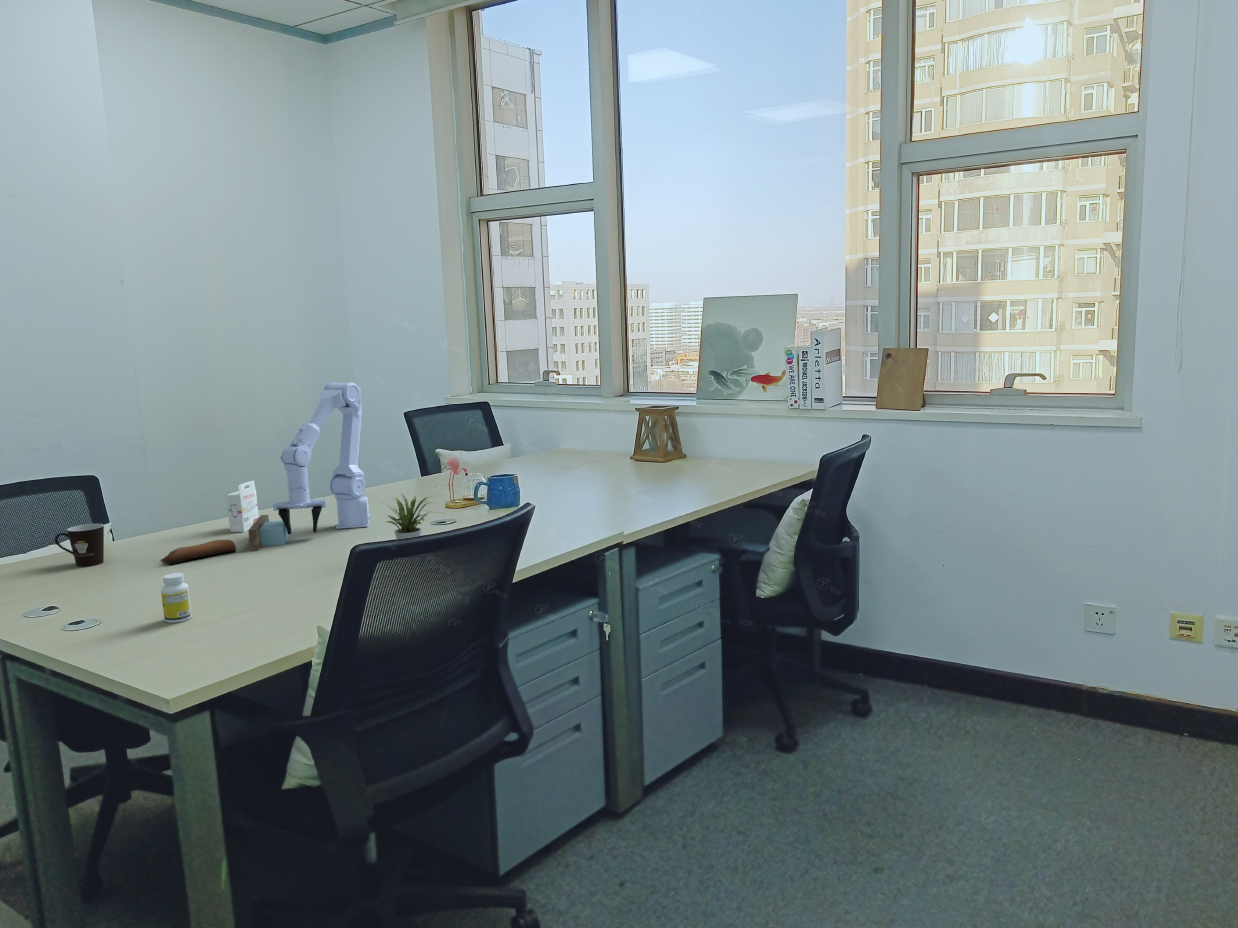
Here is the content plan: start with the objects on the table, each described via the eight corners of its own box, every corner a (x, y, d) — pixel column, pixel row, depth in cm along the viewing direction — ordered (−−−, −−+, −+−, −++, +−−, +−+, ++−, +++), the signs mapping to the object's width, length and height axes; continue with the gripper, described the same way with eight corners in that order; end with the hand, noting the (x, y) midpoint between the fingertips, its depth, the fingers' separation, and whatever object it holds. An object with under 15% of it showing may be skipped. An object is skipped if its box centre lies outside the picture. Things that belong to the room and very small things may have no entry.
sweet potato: (224, 547, 261) (227, 529, 258) (234, 562, 258) (237, 544, 254) (157, 560, 249) (159, 542, 245) (167, 577, 245) (169, 558, 242)
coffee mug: (115, 560, 250) (111, 524, 249) (88, 568, 242) (83, 531, 241) (83, 557, 254) (78, 522, 253) (55, 566, 246) (50, 529, 245)
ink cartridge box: (245, 525, 289) (241, 479, 286) (260, 526, 288) (255, 479, 285) (229, 532, 280) (224, 484, 278) (243, 532, 279) (239, 485, 277)
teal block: (288, 536, 272) (287, 520, 271) (283, 544, 262) (281, 527, 262) (267, 538, 271) (265, 521, 270) (261, 546, 261) (259, 529, 260)
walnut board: (270, 534, 276) (268, 514, 275) (257, 550, 257) (255, 529, 256) (263, 534, 276) (261, 515, 275) (250, 550, 256) (248, 529, 255)
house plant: (451, 548, 252) (447, 489, 250) (420, 561, 240) (416, 499, 237) (409, 544, 258) (405, 487, 256) (376, 556, 246) (372, 496, 243)
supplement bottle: (170, 615, 201) (165, 572, 199) (196, 614, 201) (191, 571, 200) (160, 624, 195) (155, 579, 194) (186, 622, 196) (181, 578, 194)
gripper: (269, 491, 261) (274, 537, 263) (323, 487, 263) (326, 534, 265) (273, 486, 267) (278, 532, 270) (325, 483, 270) (329, 528, 272)
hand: (302, 532), depth 268 cm, fingers open, 6 cm apart
